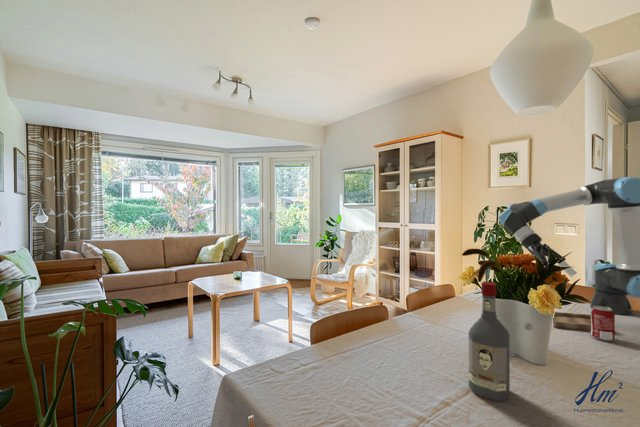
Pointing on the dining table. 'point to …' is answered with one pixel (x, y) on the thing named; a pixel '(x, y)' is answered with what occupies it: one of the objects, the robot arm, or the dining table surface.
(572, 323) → the walnut tray
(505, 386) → the liquor
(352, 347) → the dining table surface
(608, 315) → the soda can
